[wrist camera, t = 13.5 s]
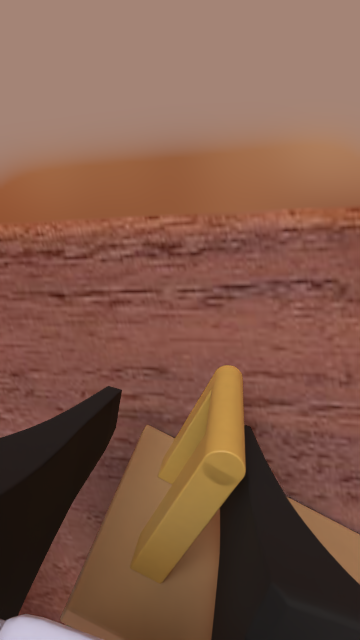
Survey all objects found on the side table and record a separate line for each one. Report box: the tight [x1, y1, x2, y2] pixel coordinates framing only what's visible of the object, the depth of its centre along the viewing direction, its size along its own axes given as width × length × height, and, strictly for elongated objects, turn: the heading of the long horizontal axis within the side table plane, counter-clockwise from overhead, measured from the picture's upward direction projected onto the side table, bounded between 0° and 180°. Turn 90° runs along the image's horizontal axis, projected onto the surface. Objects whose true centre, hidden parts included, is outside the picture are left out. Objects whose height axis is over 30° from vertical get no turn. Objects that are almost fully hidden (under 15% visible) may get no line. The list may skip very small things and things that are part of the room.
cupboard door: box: [60, 365, 360, 640], centre depth 11 cm, size 7×15×8 cm, turn 64°
